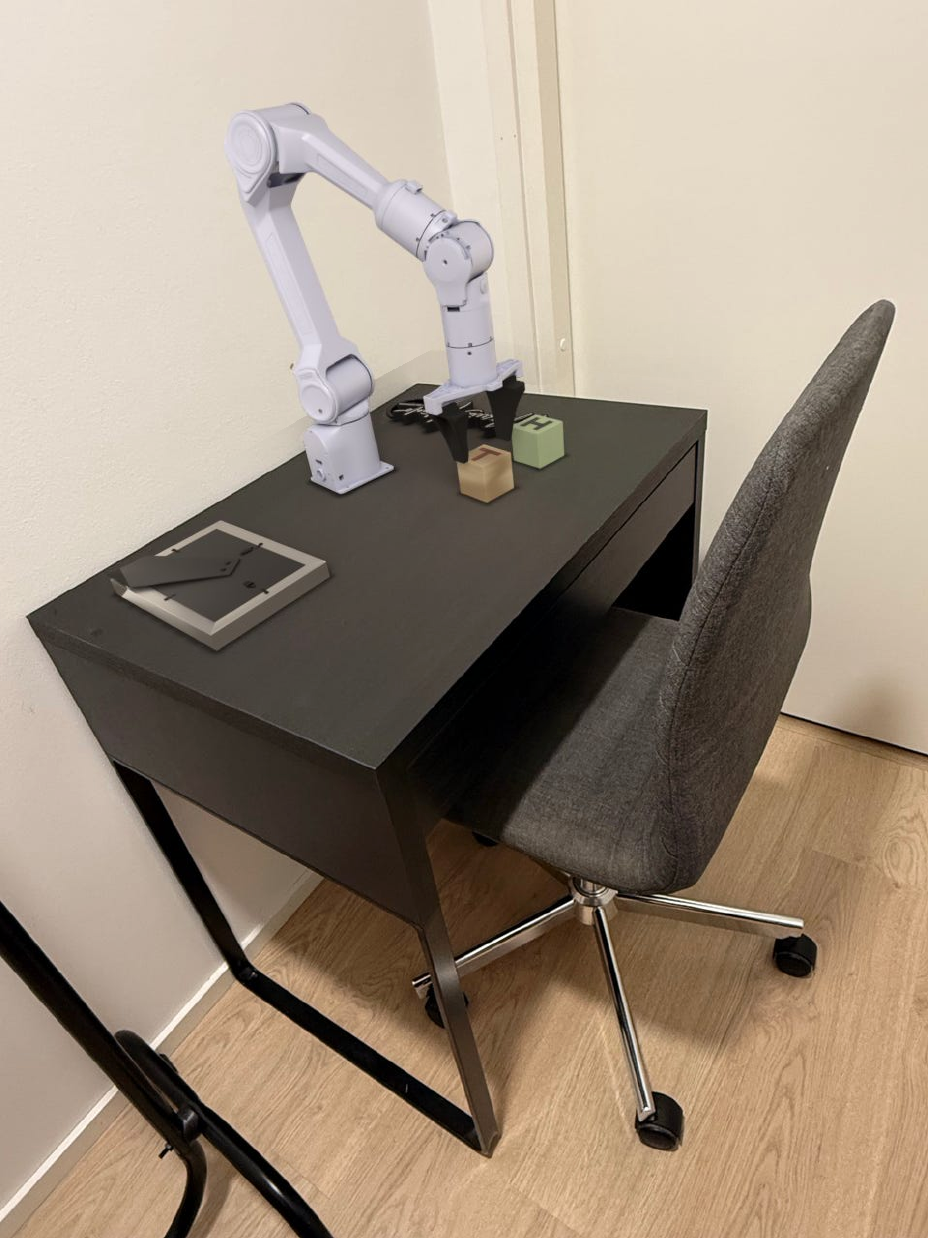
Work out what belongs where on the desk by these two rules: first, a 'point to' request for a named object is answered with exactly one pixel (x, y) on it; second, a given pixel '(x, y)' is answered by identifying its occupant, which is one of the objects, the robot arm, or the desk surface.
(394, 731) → the desk surface
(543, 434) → the sage block
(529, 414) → the nameplate
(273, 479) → the desk surface
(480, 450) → the cream block
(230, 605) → the picture frame
